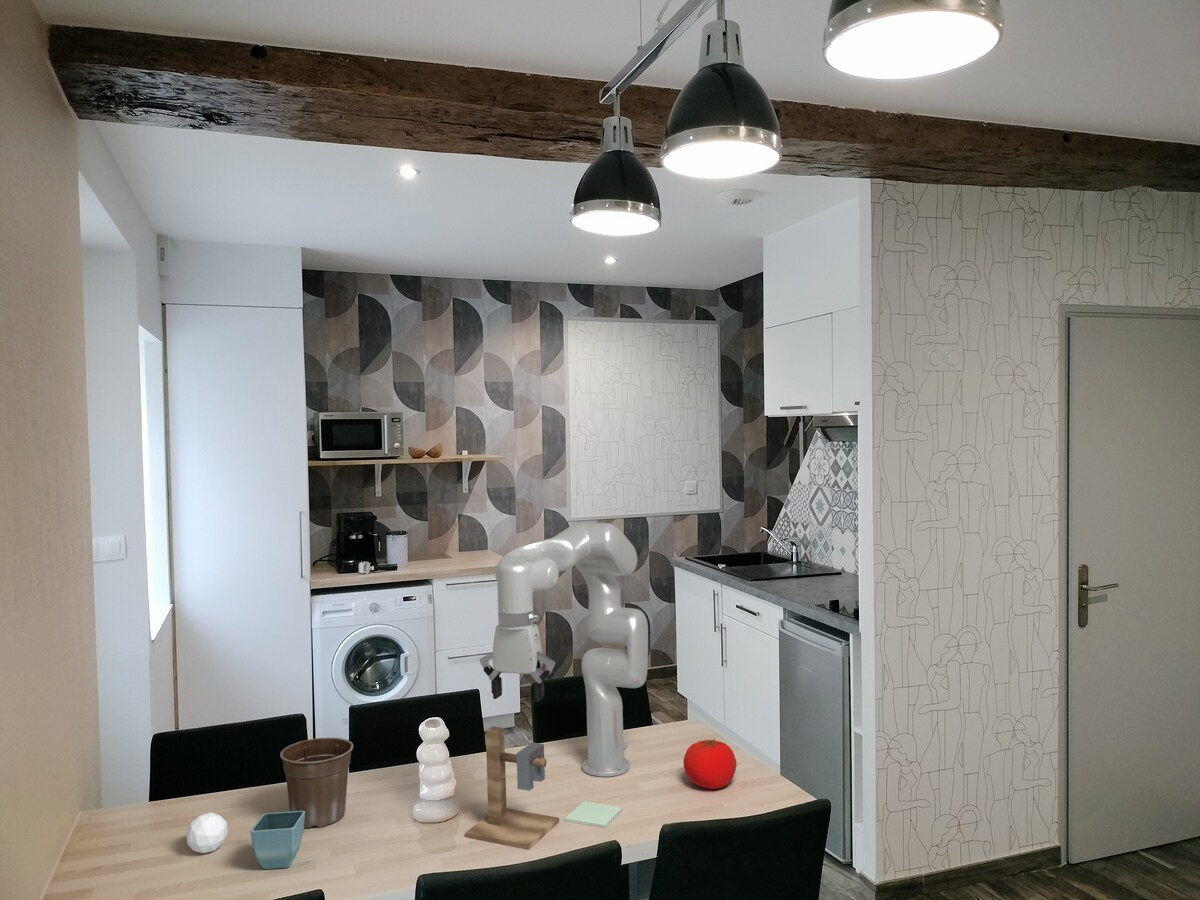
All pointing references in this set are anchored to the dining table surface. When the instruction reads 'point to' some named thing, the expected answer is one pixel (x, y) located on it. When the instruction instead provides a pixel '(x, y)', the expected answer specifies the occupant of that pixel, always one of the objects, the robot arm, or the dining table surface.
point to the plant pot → (317, 778)
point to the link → (529, 766)
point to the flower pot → (277, 838)
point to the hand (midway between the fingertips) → (518, 698)
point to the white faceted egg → (206, 833)
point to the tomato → (710, 763)
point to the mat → (594, 814)
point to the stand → (500, 820)
